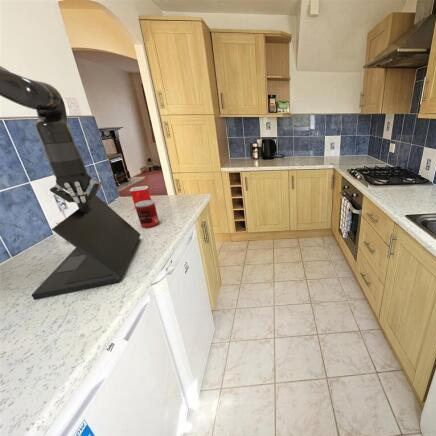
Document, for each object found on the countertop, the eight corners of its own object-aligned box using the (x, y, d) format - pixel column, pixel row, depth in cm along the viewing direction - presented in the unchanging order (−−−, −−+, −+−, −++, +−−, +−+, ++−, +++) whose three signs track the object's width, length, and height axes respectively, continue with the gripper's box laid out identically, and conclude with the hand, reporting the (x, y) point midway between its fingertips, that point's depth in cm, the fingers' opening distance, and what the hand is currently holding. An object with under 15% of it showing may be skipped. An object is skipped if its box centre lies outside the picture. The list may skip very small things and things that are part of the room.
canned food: (156, 220, 119) (151, 198, 115) (161, 224, 114) (156, 202, 109) (139, 224, 115) (132, 202, 110) (143, 230, 109) (136, 207, 105)
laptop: (34, 299, 69) (30, 294, 68) (79, 249, 95) (78, 244, 94) (119, 282, 75) (117, 277, 74) (140, 239, 101) (138, 235, 100)
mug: (137, 205, 140) (132, 187, 136) (153, 203, 143) (148, 185, 138) (133, 212, 130) (127, 193, 126) (150, 210, 132) (145, 191, 128)
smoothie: (70, 245, 98) (56, 213, 92) (60, 242, 100) (46, 211, 94) (87, 237, 103) (75, 207, 98) (77, 235, 106) (65, 205, 100)
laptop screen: (50, 229, 64) (53, 227, 64) (94, 196, 90) (96, 195, 90) (117, 278, 74) (119, 276, 74) (139, 235, 100) (140, 234, 100)
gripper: (96, 154, 76) (114, 206, 83) (44, 158, 72) (68, 212, 79) (86, 158, 70) (107, 213, 77) (28, 162, 66) (56, 220, 73)
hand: (87, 212), depth 78 cm, fingers closed
